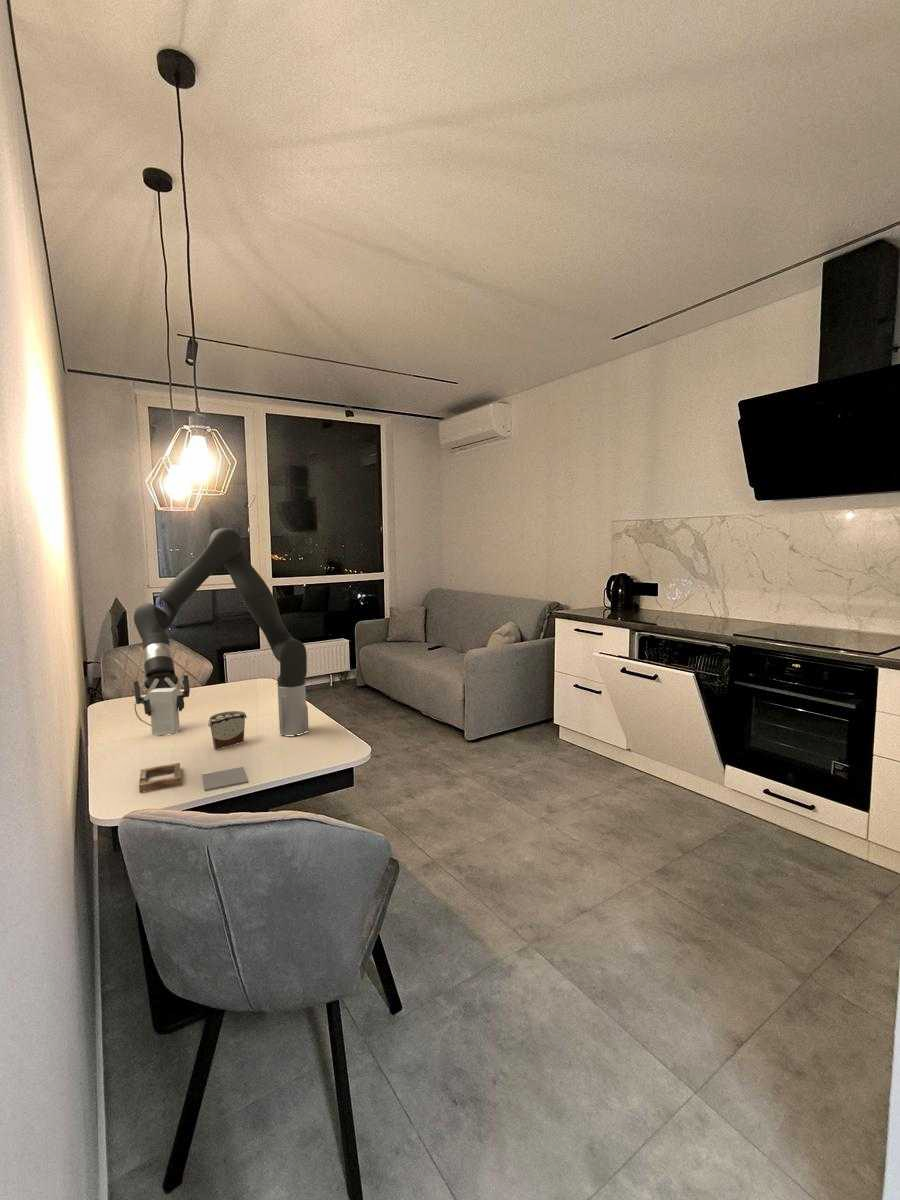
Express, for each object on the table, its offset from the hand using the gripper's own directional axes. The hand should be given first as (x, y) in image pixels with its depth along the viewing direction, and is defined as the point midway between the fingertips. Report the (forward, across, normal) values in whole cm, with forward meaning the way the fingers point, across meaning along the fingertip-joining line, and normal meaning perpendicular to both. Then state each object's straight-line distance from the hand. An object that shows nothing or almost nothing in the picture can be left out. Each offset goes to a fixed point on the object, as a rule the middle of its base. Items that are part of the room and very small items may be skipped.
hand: (165, 712), depth 151 cm
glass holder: (-19, +1, +48) cm, 51 cm away
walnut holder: (+12, -2, +16) cm, 20 cm away
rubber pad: (+19, +13, +10) cm, 25 cm away
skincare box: (+3, 0, +6) cm, 6 cm away
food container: (-2, +19, +31) cm, 36 cm away
